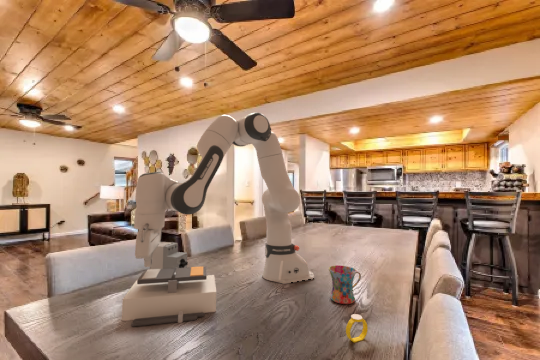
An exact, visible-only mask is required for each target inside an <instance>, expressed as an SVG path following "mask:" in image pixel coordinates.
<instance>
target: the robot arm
mask: <svg viewBox="0 0 540 360" xmlns="http://www.w3.org/2000/svg"><path fill="white" fill-rule="evenodd" d="M232 145H234V146H236V147H245V146H248V145H252V146H253V147H254V148H255V151H256V156H257V163H258V165H259V170H260V175H261V177H262V179H263V180H264V183H265V185H266V187H267V189H266V190H265V191H263V193H262V196H261V203H262V204H263V211H264V216H265V222H266V243H265V248H264V255H265V256H264V257H265V261H264V266H263V270H262V274H261V277H262V278H263V279H265V280H267V281H271V282H276V283H280V284H285V285H286V284H291V282H293V283H297V281H299V282H303V281H302V280H305V281H309V280H308V279H311V280H314V279H315V274H314V273H313V271H311V270H310V269H309V268H310V267H309V264H308V262H307V261H306V260H305V259H304V257H302V256H301V255H300V254H298V253H297V252H299V250H300V246H299V245H295V244H293V243H292V241H293V239H292V237H293V236H292V235H293V234H292V233H293V232H292V231H293V228H292V227H293V226H292V223H291V221H290V218H289V215H288V213H292V212H294V211H296V210H297V209H298V208H299V206H300V205H301V197H300V193H299V192H298V191H297V190H296V189H295V187H294V185H293V184H292V181H291V178H290V177H289V174H288V172H287V171H288V170H287V168H286V165H285V159H284V155H283V150H282V147H281V143H280V141H279V138H278V136H277V134H276V133H275V132H273V131H272V127H271V124H270V121H269V119H268V118H267V117H266V115H265V114H264V113H262V112H252V113H249V114H247V115H245V116H243V117H241V118H240V119H238V120H236V119H235V118H234V117H232V116H230V115H227V114H223V115H219V116H218V117H217V118H215V120H213V121H212V123H210V124H209V126H207V128H206V129H205V131H204V132H203V133H202V135H201V136H200V138H199V140H198V142H197V145H196V146H197V152H198V154H199V155H200V157H201V160H200V161H199V162H198V164H197V166H196V167H195V169H194V171H193V172H192V174H191V176H190V177H189V178H188V180H187V179H186V180H185V181H184V182H180V181H178V180H174V179H173V178H171V177H170V176H167V175H166V173H164V172H162V171H153V172H146V173H142V174H141V175H140V176H138V178H137V181H136V188H135V197H134V199H135V202H136V203H135V204H136V205H135V206H136V208H135V210H134V221H133V222H134V224H133V225H134V226H133V228H134V229H135V230H138V231H137V234H136V238H135V247H134V248H135V249H134V256H135V259H136V260H137V259H139V260H140V259H141V260H142V259H143V263H144V264H143V266H144V267H145V268H150V265H151V264H152V258H153V253H154V250H155V249H156V248H157V246H158V245H159V244H160V242H161V239H162V230H163V228H164V227H165V221H166V220H165V219H166V210H171V211H174V212H178V213H180V214H183V215H186V216H187V215H194V214H196V213H197V212H199V211H200V210H201V209H202V208H203V206H204V204H205V201H206V196H207V191H208V188H209V186H210V185H211V183H212V181H213V180H214V177H215V176H216V174H217V172H218V170H219V169H220V166H221V164H222V162H223V159H224V157H225V156H226V154H227V152H228V151H229V150H230V148H231V147H232ZM313 278H314V279H313Z"/></svg>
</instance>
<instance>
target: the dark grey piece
mask: <svg viewBox="0 0 540 360" xmlns="http://www.w3.org/2000/svg"><path fill="white" fill-rule="evenodd" d="M204 316H205V313H204V312H198V313H188V314H183V311H179V314H178V315H168V316H158V317H148V318H138V319H134V320H132V322H131V327H133V328H134V327H142V326H151V325H152V326H153V325H161V324H169V323H170V324H171V323H177V324H181V323H184V322H189V321H190V322H191V321H196V320H197V319H198V318H202V317H203V318H204Z"/></svg>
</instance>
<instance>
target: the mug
mask: <svg viewBox="0 0 540 360" xmlns="http://www.w3.org/2000/svg"><path fill="white" fill-rule="evenodd" d="M328 271H329V274H330V277H331V284H332V285H331V292H330V294H329V298H330V300H331V301H333V302H335V303H338V304H341V305H349V304H353V303H354V302H355V301H356V297H355V295H354V289H353V288H355V287H356V286H357V285H358V284H359V282H361V277H362V275H361V273H360V272H359V271H357V269H355V268H354V267H351V266H346V265H339V264H338V265H331V266H329V267H328ZM356 274H358V275H359V276H358V279H357V280H356V282H355V283H354V280H355V276H356ZM353 283H354V284H353Z"/></svg>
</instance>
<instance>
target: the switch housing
mask: <svg viewBox="0 0 540 360" xmlns="http://www.w3.org/2000/svg"><path fill="white" fill-rule="evenodd" d="M206 275H207V274H206ZM137 280H138V279H136V280H135V282H134V283H133V285H132V286H131V287H130V289H129V290H128V292H127V293H126V294H125V295H124V297H123V298H122V306H121V308H122V309H121V322H127V321H133V320H134V319H138V318H148V317H158V316H168V315H178V314H179V311H183V314H188V313H198V312H204V314H205V313H215V312H217V288H216V287H217V285H216V277H215V274H208V275H207V277H206V280H193V281H179V282H177V280H169V281H168V282H164V283H150V284H137Z"/></svg>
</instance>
